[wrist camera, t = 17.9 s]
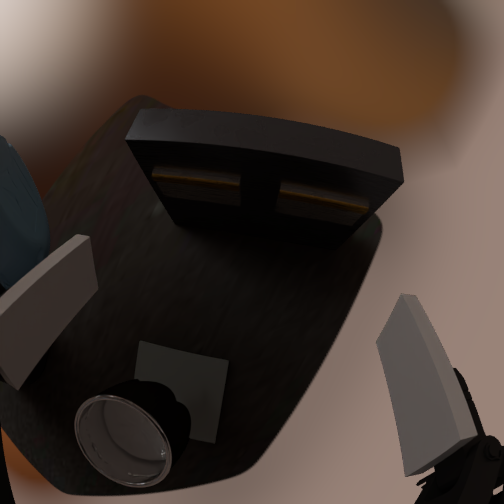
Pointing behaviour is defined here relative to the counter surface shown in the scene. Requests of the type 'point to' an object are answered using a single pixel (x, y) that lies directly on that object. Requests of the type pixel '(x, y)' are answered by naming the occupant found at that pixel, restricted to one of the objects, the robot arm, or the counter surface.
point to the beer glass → (139, 426)
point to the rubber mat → (202, 368)
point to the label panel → (263, 174)
